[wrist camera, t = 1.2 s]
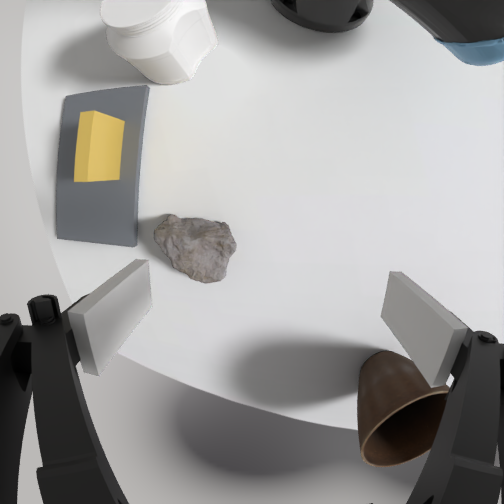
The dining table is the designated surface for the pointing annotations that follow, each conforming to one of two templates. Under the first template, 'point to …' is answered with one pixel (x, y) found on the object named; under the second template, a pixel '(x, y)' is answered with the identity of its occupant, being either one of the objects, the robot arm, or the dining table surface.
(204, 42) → the jar
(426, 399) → the plant pot
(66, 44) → the dining table surface
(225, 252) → the stone
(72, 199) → the slate board
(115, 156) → the yellow block
